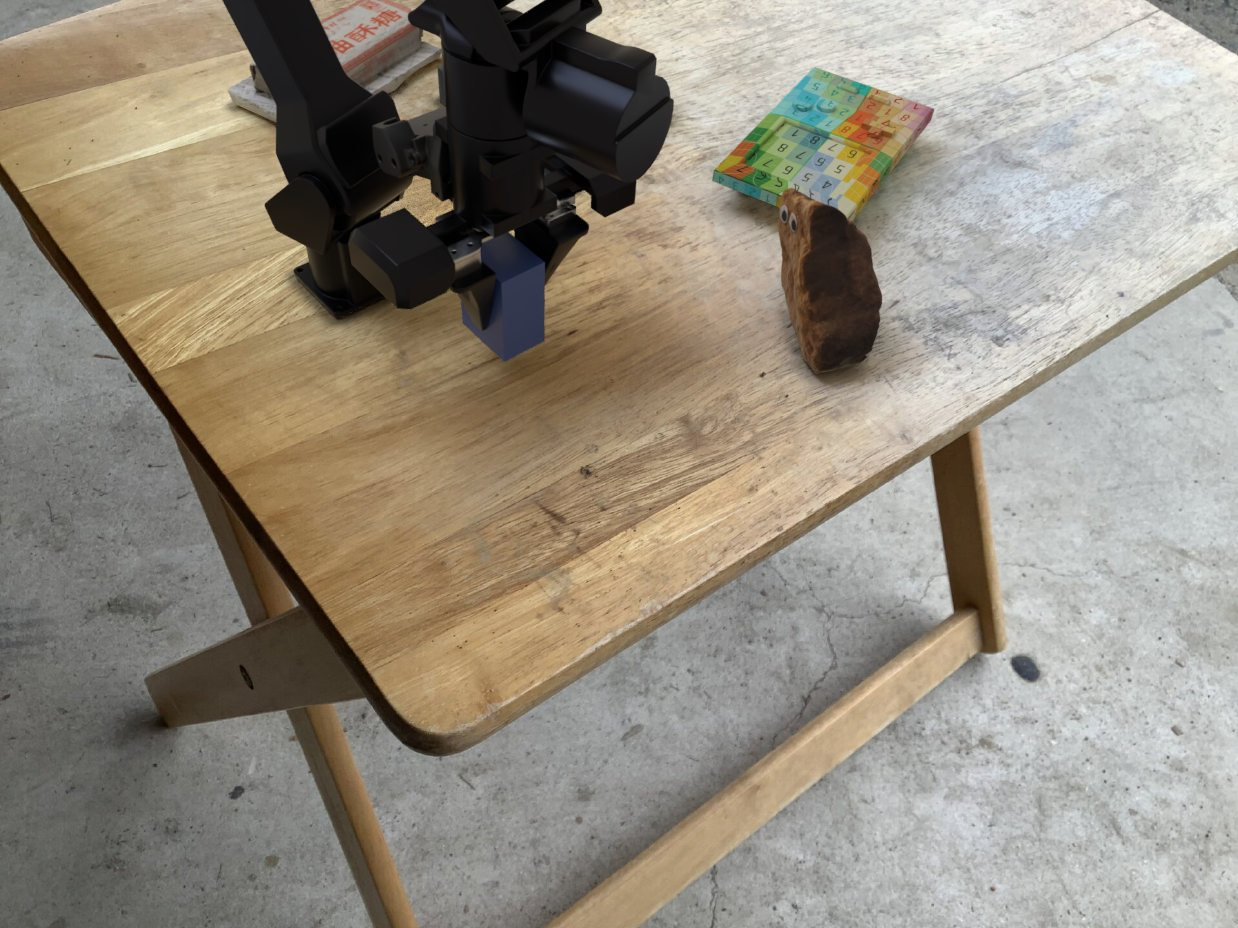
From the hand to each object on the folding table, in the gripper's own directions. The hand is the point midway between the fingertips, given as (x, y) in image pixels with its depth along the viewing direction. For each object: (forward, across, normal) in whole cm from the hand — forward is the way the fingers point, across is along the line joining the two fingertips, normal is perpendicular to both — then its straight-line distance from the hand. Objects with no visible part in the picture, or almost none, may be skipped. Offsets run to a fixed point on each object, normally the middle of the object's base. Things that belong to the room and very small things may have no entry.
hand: (502, 315), depth 75 cm
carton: (+2, 0, 0) cm, 2 cm away
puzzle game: (+5, -36, -2) cm, 36 cm away
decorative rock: (+5, -21, +11) cm, 24 cm away
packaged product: (+5, -10, -39) cm, 41 cm away
